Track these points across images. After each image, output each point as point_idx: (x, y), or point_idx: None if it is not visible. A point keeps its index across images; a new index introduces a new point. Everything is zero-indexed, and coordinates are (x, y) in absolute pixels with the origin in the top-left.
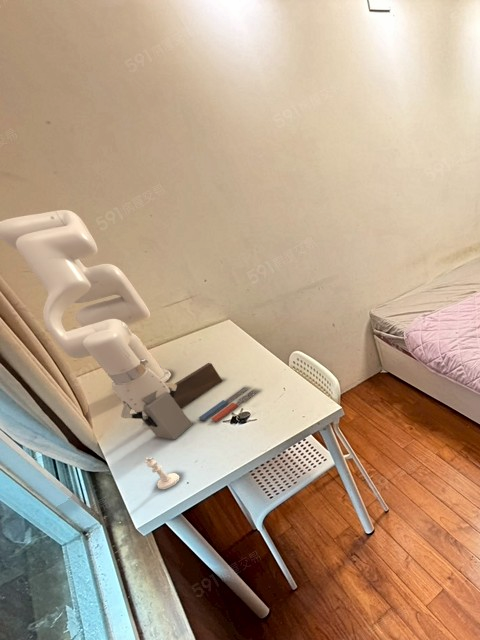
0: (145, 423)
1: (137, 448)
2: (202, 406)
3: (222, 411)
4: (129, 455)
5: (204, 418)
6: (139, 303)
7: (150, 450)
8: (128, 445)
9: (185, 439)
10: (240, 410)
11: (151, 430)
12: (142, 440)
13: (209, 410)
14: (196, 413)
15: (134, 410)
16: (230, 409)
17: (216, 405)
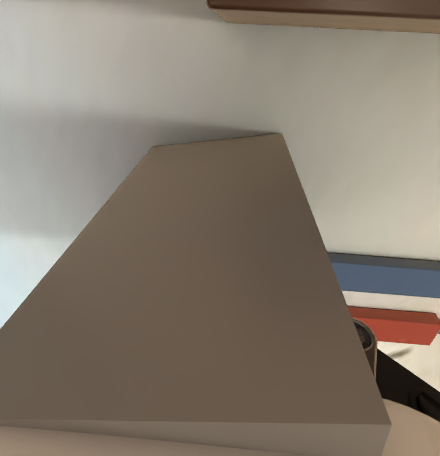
0: (110, 198)
1: (50, 121)
2: (437, 173)
3: (375, 325)
4: (5, 130)
5: None
6: None
7: (84, 203)
8: (24, 26)
9: None
10: (393, 351)
11: (135, 167)
12: (95, 81)
13: (382, 270)
14: (367, 192)
15: (18, 313)
16: (391, 341)
17: (426, 273)
